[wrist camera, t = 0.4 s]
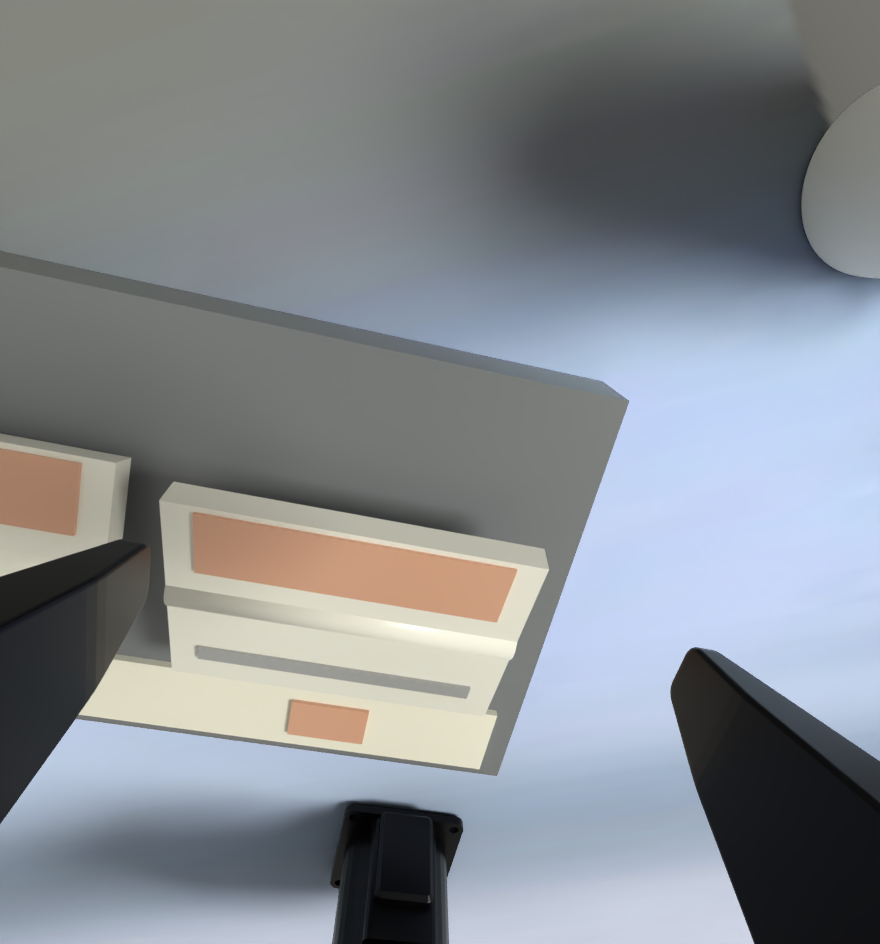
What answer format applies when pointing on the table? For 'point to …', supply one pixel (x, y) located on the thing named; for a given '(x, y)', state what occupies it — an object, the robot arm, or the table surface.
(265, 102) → the table surface
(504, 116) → the table surface
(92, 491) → the rocker
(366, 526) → the cream slotted panel
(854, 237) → the mug
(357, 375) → the switch panel
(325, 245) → the table surface
